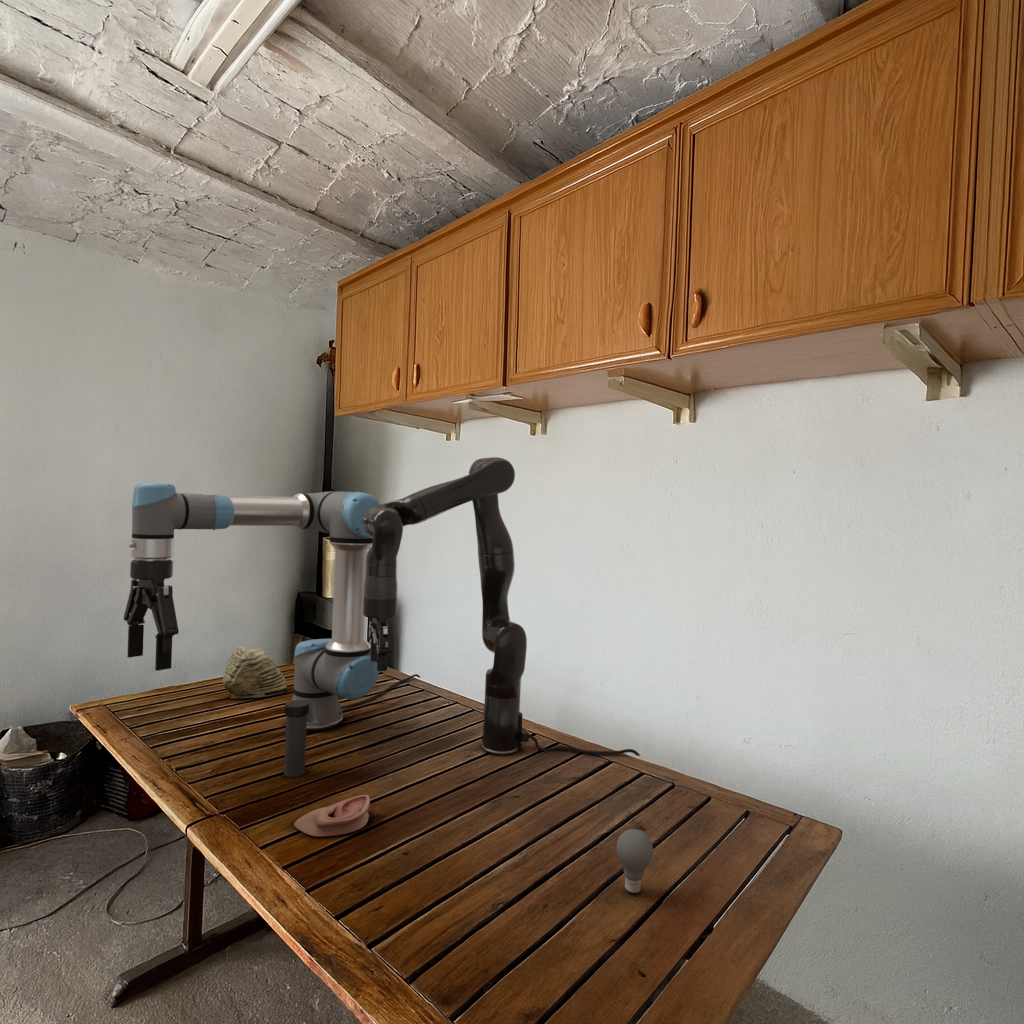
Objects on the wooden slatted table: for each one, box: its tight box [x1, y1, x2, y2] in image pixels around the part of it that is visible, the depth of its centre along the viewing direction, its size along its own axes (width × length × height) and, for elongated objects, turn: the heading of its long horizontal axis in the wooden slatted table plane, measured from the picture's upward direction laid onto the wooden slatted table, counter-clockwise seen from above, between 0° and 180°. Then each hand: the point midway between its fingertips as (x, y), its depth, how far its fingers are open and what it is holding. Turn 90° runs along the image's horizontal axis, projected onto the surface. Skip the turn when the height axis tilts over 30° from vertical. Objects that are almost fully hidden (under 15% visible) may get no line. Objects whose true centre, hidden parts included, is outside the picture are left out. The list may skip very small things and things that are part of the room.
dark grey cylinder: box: [283, 714, 307, 778], centre depth 144 cm, size 4×4×16 cm
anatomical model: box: [293, 794, 371, 837], centre depth 123 cm, size 13×4×12 cm
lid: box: [284, 700, 309, 717], centre depth 144 cm, size 5×5×2 cm
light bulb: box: [615, 828, 654, 894], centre depth 106 cm, size 6×6×10 cm
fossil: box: [222, 646, 288, 699], centre depth 198 cm, size 9×18×15 cm, turn 132°
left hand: (148, 662), depth 129 cm, fingers open, 13 cm apart
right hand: (378, 665), depth 144 cm, fingers open, 8 cm apart
